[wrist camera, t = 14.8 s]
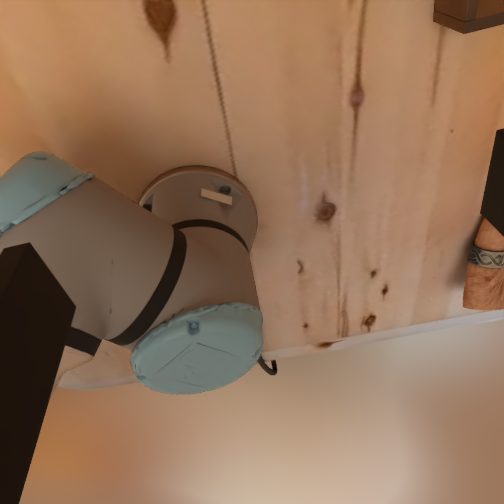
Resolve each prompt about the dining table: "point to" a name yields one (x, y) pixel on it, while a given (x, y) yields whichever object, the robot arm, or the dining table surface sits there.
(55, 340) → the robot arm
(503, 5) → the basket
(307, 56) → the dining table surface
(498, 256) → the curved blowing horn
